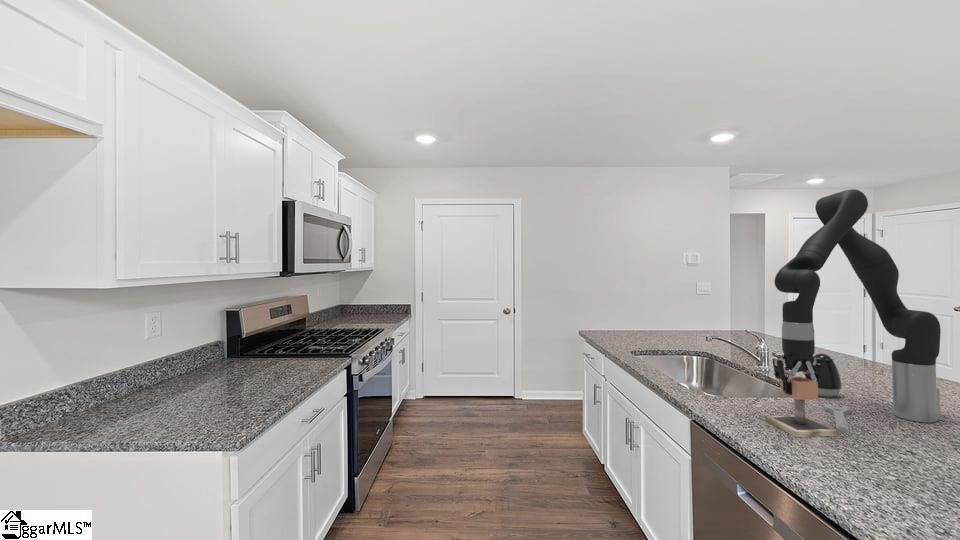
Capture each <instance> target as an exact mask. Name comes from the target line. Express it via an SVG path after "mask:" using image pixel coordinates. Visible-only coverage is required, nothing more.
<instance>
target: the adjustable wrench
mask: <svg viewBox="0 0 960 540" xmlns="http://www.w3.org/2000/svg"><path fill="white" fill-rule="evenodd" d="M824 410H825V411H824ZM823 411H824V412H828V411H829V412H828V413H830V412H831V413H830V414H832V413H833V414H832V415H833V416H834V417H835V418H834V423H835V429H836V430H838V431H839V432H841V433H840V434H844V433H848V434H849V427H848V423H847V421H846V418H845V415H848V413H849V414H851V408H850V407H849V406H847V405H844V404H839V406H838V407H835V406H833V405H832V404H830V403H826V404H824V406H823Z"/></svg>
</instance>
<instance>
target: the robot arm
mask: <svg viewBox="0 0 960 540" xmlns="http://www.w3.org/2000/svg"><path fill="white" fill-rule="evenodd" d="M868 207H869V201H868V197H867V196H866V195H865V194H864V193H863V192H862V191H860V189H859V190H858V189H854V188H853V189H847V190H846V189H845V190H843V191H839V192H835V193H833V194H829V195H827V196H823V197H820V198H819V199H818V200H816V203H815V211H816V215H817V217H818V219H819V220H820V222H821V223H822V224H823V226H822V227H820V228H819V229H817V230H816V231H815V232H814V233H813V234H811V235H810V236H809V237H808V238H807V239H806V240H805V241H804V243H803V244H802V245H801V246H800V249H799V250H798V252H797V254H796V255H795V256H794V257H793V258H792V259H791V260H789V261H788V262H787V263H786V264H785V265H783V266H781V268H779V270H778V271H777V273H776V274H775V277H774V286H775V289H777V290H778V291H780V292H781V293H787V294H798V296H797V298H796V299H795V300H790V301H786V302H783V304H782V308H781V310H782V323H781V325H782V326H781V350H782V353H783V356H782V357H781V358H773V359H772V365H773V371H774V376H775V378H776V379H779V380H780V381H781V380H782V381H783V391H784V393H785V394H788V395H792V383H791V381H792V379H793V377H794V376H797V373H800V372H801V373H802V374H803V375H804V378H805V377H806V378H807V379H810V380H813V381H817V380H818V379H822V378H823V371H824V363H825V360H824V359H820V358H817V357H815V358H814V355H815V353H816V352H815V351H816V349H815V347H816V346H815V345H816V344H815V327H814V317H813V316H814V315H813V314H814V312H813V309H814V306H815V302H816V299H817V296H818V293H819V290H820V286H821V279H820V276H819V274H818V273H817V272H819V270H821V269H822V268H823V267H824V265H825V263H826V262H827V260H828V258H829V257H830V255H831V254H832V252H833V250H834V249H835V248H836V246H837V245H838V246H839V248H840V249H841V251H842V253H843V254H844V256H845V257H846V259H848V260H847V261H848V262H849V264H850V266H851V267H852V268H851V269H852V270H853V271H854V272H855V275H856V276H857V278H858V279H859V281H860V282H861V283H862V285H863V287H864V289H865V291H866V292H867V294H868V296H869V297H870V300H871V301H872V303H873V305H874V308H875V310H876V313H877V314H878V317H879V319H880V322H881V324H882V325H883V327H884V329H885V331H886V332H887V333H888V334H890V335H891V336H893V337H895V338H899V339H904V342H905V343H904V346H903V347H902V348H900V349H895V350H893V351H891V375H892V376H891V379H892V380H891V381H892V383H891V384H892V385H891V387H892V388H891V389H892V414H893V416H895V417H898V418H899V419H900V418H901V419H903V420H908V421H912V422H917V423H919V422H920V423H927V424H928V423H931V424H932V423H937V422H938V421H941V399H940V396H941V394H940V389H939V388H938V387H937V368H936V367H937V364H936V363H937V359H938V357H939V355H940V352H941V351H940V348H941V334H942V333H941V331H942V330H941V323H940V321H939V319H938V317H937V316H936V315H934V314H933V313H932V312H929V311H925V310H924V311H923V310H915V309H908V307H906V305H905V304H904V302H903V300H901V298H900V296H899V294H898V293H899V292H898V284H899V277H900V273H899V268H898V266H897V264H896V263H895V261H894V259H893V258H892V256H891V255H890V253H889V252H888V250H886V248H884V247H882V246H881V245H880V244H878V243H877V242H874V241H873V240H871V239H869V238H868V237H865V236H864V235H862V234H861V233H859V232H858V231H857V230H855V228H854V225H855V224H857V223H858V222H859V220H861V218H862V217H864V215H865V213H866V212H867V210H868ZM812 364H813V368H812V366H811V365H812ZM817 371H818V374H817Z"/></svg>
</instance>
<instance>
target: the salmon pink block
mask: <svg viewBox="0 0 960 540" xmlns="http://www.w3.org/2000/svg"><path fill="white" fill-rule="evenodd" d="M791 383H792V395H788V394H785V393H784V391H783V381H782V380H781V379H780V384H781V385H780V390H781V391H780V393H781V394H782V395H784V396H787V397H789V398H792V399H796V400H805V401H807V400H808V401H809V400H818V399H819V396H818V382H816V381H813V380H810V379H807V378H805V376H797V375H795V376H793V379H792V381H791Z"/></svg>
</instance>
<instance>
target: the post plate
mask: <svg viewBox="0 0 960 540" xmlns="http://www.w3.org/2000/svg"><path fill="white" fill-rule="evenodd" d="M793 399H794V398H793ZM793 401H794V402H793V403H794V415H793V414H791V415H768V416H767V415H765V416H764V421H765V422H766V423H768V424H769V425H772V426H774V427H775V428H777V427H778V428H777V429H779V428H780V430H781V429H782V431H783V432H786V433H787V434H789V435H791V436H793V437H794V438H797V437H799V438H815V437H814V436H829V437H839V436H840V433H839V431H838V430H836V428H833V427H831V426H829V425H827V424H825V423H823V422H820V421H817V420H815V419H813V418H811V417H809V416H807V415H806V402H805V401H806V400H796V399H794V400H793Z"/></svg>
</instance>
